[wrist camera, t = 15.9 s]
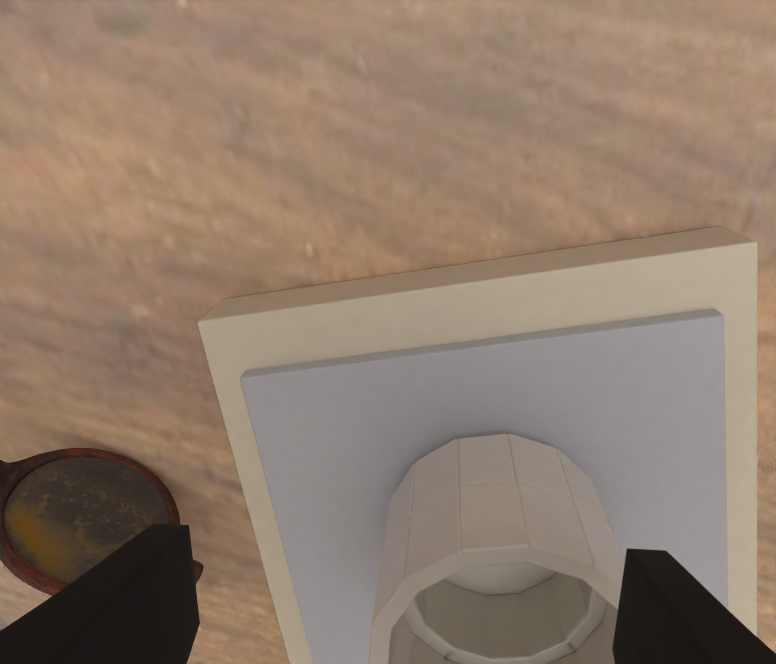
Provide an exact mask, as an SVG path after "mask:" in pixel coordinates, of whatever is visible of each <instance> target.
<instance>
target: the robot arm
mask: <svg viewBox="0 0 776 664" xmlns="http://www.w3.org/2000/svg"><path fill="white" fill-rule="evenodd" d="M199 624H200V621H199V612H198V603H197V594H196V585H195V576H194V566H193V557H192V548H191V539H190V530H189V525H176V524H157V523H154V524H152V525H151V526H149V527H148V528H146V529H145V530H143V531H142V532H140V533H139V534H138V535H136V536H135V537H133V538H132V539H131V540H129V541H128V542H126V543H125V544H124V545H122V546H121V547H120V548H118V549H117V550H116V551H114V552H113V553H111V554H110V555H109V556H107V557H106V558H105V559H103V560H102V561H101V562H99V563H98V564H96V565H95V566H94V567H92V568H91V569H90V570H88V571H87V572H85V573H84V574H83V575H81V576H80V577H79V578H77V579H76V580H74V581H73V582H72V583H70V584H69V585H67V586H66V587H65V588H63V589H62V590H60V591H59V592H58V593H56V594H55V595H54V596H52V597H51V598H49V599H48V600H46V601H45V602H43V603H42V604H40V605H39V606H37V607H36V608H34V609H33V610H31V611H30V612H28V613H27V614H25V615H24V616H22V617H21V618H19V619H18V620H16V621H15V622H13V623H12V624H10V625H9V626H7V627H6V628H4V629H3V630H1V631H0V664H186V663H187V660H188V658H189V655H190V652H191V649H192V646H193V642H194V639H195V636H196V633H197V630H198V627H199ZM612 652H613V657H614V662H615V664H776V654H775V653H774V652H773V651H772V650H771V649H770V648H768V647H767V646H766V645H765V644H764V643H763V642H762V641H761V640H760V639H759V638H758V637H756V636H755V635H754V634H753V633H752V632H751V631H750V630H749V629H748V628H747V627H746V626H745V625H743V624H742V623H741V622H740V621H739V620H738V619H737V618H736V617H735V616H734V615H733V614H732V613H731V612H730V611H729V610H728V609H727V608H726V607H724V606H723V605H722V604H721V603H720V602H719V601H718V600H717V599H716V598H715V597H714V596H713V595H712V594H711V593H710V592H709V591H708V590H707V589H706V588H705V587H704V586H703V585H702V584H701V583H700V582H699V581H698V580H697V579H696V578H695V577H694V576H692V575H691V574H690V573H689V572H688V571H687V570H686V569H685V568H684V567H683V566H682V565H681V564H680V563H679V562H678V561H677V560H676V559H675V558H674V557H673V556H672V555H670V554H669V553H668V552H667V551H666V550H648V549H629V548H627V551H626V558H625V564H624V571H623V578H622V585H621V592H620V599H619V606H618V613H617V620H616V626H615V633H614V640H613V647H612Z"/></svg>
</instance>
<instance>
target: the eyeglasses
mask: <svg viewBox="0 0 776 664" xmlns="http://www.w3.org/2000/svg"><path fill="white" fill-rule="evenodd" d="M154 523H157V524H176V525H180V518H179V513H178V509H177V506H176V503H175V501H174V499H173V497H172V495H171V493H170V492H169V490H168V489H167V487H166V486H165V485H164V484H163V482H162V481H161V480H160V479H159V478H158V477H157V476H155V475H154V474H153V473H152V472H150V471H149V470H148V469H146V468H144V467H143V466H141V465H139V464H137V463H136V462H134V461H132V460H129V459H127V458H125V457H123V456H120V455H117V454H114V453H111V452H108V451H103V450H98V449H90V448H70V449H61V450H56V451H51V452H47V453H42V454H39V455H36V456H33V457H30V458H27V459H24V460H21V461H17V462H13V463H6V462H4V461H2V460H0V560H1V561H2V562H3V564H4V565H5V566H6V567H7V568H8V569H9V570H10V571H11V572H12V573H13V574H14V575H15V576H17V577H18V578H19V579H21V580H22V581H23V582H25V583H27V584H28V585H30V586H32V587H34V588H36V589H38V590H40V591H42V592H44V593H47V594H49V595H52V596H54V595H55V594H56V593H58V592H59V591H60V590H62V589H63V588H65V587H66V586H67V585H69V584H70V583H72V582H73V581H74V580H76V579H77V578H79V577H80V576H81V575H83V574H84V573H85V572H87V571H88V570H90V569H91V568H92V567H94V566H95V565H96V564H98V563H99V562H101V561H102V560H103V559H105V558H106V557H107V556H109V555H110V554H111V553H113V552H114V551H116V550H117V549H118V548H120V547H121V546H122V545H124V544H125V543H126V542H128V541H129V540H131V539H132V538H133V537H135V536H136V535H138V534H139V533H140V532H142V531H143V530H145V529H146V528H148V527H149V526H151V525H152V524H154ZM193 566H194V576H195V585H196V583H197V581H198V580H199V578H200V576H201V574H202V572H203V565H202V564H201V563H200V562H197V561H195V560H193Z"/></svg>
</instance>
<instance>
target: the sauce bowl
mask: <svg viewBox="0 0 776 664" xmlns="http://www.w3.org/2000/svg"><path fill="white" fill-rule="evenodd" d="M624 564H625V561H624V558H623V556H622V553H621V551H620V548H619V546H618V543H617V540H616V538H615V536H614V533H613V530H612V528H611V525H610V523H609V520H608V518H607V515H606V513H605V510H604V507H603V505H602V502H601V500H600V497H599V495H598V492H597V490H596V487H595V484H594V483H593V482H592V479H591V478H590V477H589V476H588V475H587V474H586V473H584V472H583V471H582V470H581V469H580V468H579V467H578V466H577V465H576V464H574V463H573V462H572V461H571V460H570V459H569V458H568V457H567V456H566V455H565V454H563V453H562V452H561V451H560V450H559V449H556V448H555V447H552V446H549V445H546V444H542V443H539V442H536V441H533V440H529V439H526V438H523V437H520V436H516V435H513V434H508V435H507V434H497V435H487V436H478V437H468V438H460V439H454V440H452V441H451V442H449V443H447V444H445V445H444V446H442V447H440V448H438V449H437V450H435V451H433V452H431V453H430V454H428V455H426V456H424V457H423V458H421V459H419V460H417V461H416V462H415V463H414V464H413V465H412V467H411V468H410V470H409V471H408V473H407V474H406V476H405V477H404V479H403V480H402V482H401V483H400V485H399V486H398V488H397V489H396V491H395V492H394V494H393V495H392V497H391V500H390V502H389V509H388V516H387V523H386V530H385V537H384V544H383V550H382V557H381V564H380V571H379V577H378V584H377V591H376V598H375V605H374V612H373V618H372V626H371V640H370V654H369V664H615V662H614V657H613V652H612V647H613V640H614V633H615V626H616V620H617V613H618V606H619V599H620V592H621V585H622V578H623V571H624Z"/></svg>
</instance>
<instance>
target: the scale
mask: <svg viewBox="0 0 776 664" xmlns="http://www.w3.org/2000/svg"><path fill="white" fill-rule="evenodd" d="M757 314H758V243H757V241H755V240H752V239H750V238H748V237H745V236H743V235H741V234H738V233H736V232H734V231H731V230H729V229H727V228H724V227H722V226H718V227H711V228H704V229H697V230H690V231H684V232H677V233H670V234H663V235H656V236H650V237H643V238H636V239H629V240H622V241H616V242H609V243H602V244H595V245H588V246H582V247H575V248H568V249H561V250H554V251H548V252H541V253H534V254H527V255H520V256H514V257H507V258H500V259H493V260H486V261H480V262H473V263H466V264H459V265H453V266H446V267H439V268H432V269H425V270H419V271H412V272H405V273H398V274H391V275H385V276H378V277H371V278H364V279H357V280H351V281H344V282H337V283H330V284H323V285H317V286H310V287H303V288H296V289H289V290H283V291H276V292H269V293H262V294H255V295H249V296H242V297H235V298H228V299H223V300H222V301H221V302H220V303H219V304H217V305H216V306H215V307H214V308H213V309H212V310H210V311H209V312H208V313H207V314H206V315H205V316H203V317H202V318H201V319H200V320H199V321H198V322H197V324H198V328H199V332H200V335H201V339H202V343H203V346H204V350H205V354H206V357H207V361H208V365H209V368H210V372H211V376H212V380H213V383H214V387H215V391H216V394H217V398H218V402H219V405H220V409H221V413H222V416H223V420H224V424H225V427H226V431H227V435H228V438H229V442H230V446H231V449H232V453H233V457H234V461H235V464H236V468H237V472H238V475H239V479H240V483H241V486H242V490H243V494H244V497H245V501H246V505H247V508H248V512H249V516H250V519H251V523H252V527H253V530H254V534H255V538H256V541H257V545H258V549H259V553H260V556H261V560H262V564H263V567H264V571H265V575H266V578H267V582H268V586H269V589H270V593H271V597H272V600H273V604H274V608H275V611H276V615H277V619H278V622H279V626H280V630H281V633H282V637H283V641H284V645H285V648H286V652H287V656H288V659H289V663H290V664H369V654H370V640H371V626H372V618H373V612H374V605H375V598H376V591H377V584H378V577H379V571H380V564H381V557H382V550H383V544H384V537H385V530H386V523H387V516H388V509H389V502H390V500H391V497H392V495H393V494H394V492H395V491H396V489H397V488H398V486H399V485H400V483H401V482H402V480H403V479H404V477H405V476H406V474H407V473H408V471H409V470H410V468H411V467H412V465H413V464H414V463H415V462H416V461H417V460H419V459H421V458H423V457H424V456H426V455H428V454H430V453H431V452H433V451H435V450H437V449H438V448H440V447H442V446H444V445H445V444H447V443H449V442H451V441H452V440H454V439H460V438H468V437H478V436H487V435H497V434H507V435H508V434H513V435H516V436H520V437H523V438H526V439H529V440H533V441H536V442H539V443H542V444H546V445H549V446H552V447H555V448H556V449H559V450H560V451H561V452H562V453H563V454H565V455H566V456H567V457H568V458H569V459H570V460H571V461H572V462H573V463H574V464H576V465H577V466H578V467H579V468H580V469H581V470H582V471H583V472H584V473H586V474H587V475H588V476H589V477H590V478H591V479H592V482H593V483H594V484H595V487H596V490H597V492H598V495H599V497H600V500H601V502H602V505H603V507H604V510H605V513H606V515H607V518H608V520H609V523H610V525H611V528H612V530H613V533H614V536H615V538H616V540H617V543H618V546H619V548H620V551H621V553H622V556H623V558H624V561H625V558H626V551H627V548H629V549H648V550H666V551H667V552H668V553H669V554H670V555H672V556H673V557H674V558H675V559H676V560H677V561H678V562H679V563H680V564H681V565H682V566H683V567H684V568H685V569H686V570H687V571H688V572H689V573H690V574H691V575H692V576H694V577H695V578H696V579H697V580H698V581H699V582H700V583H701V584H702V585H703V586H704V587H705V588H706V589H707V590H708V591H709V592H710V593H711V594H712V595H713V596H714V597H715V598H716V599H717V600H718V601H719V602H720V603H721V604H722V605H723V606H724V607H726V608H727V609H728V610H729V611H730V612H731V613H732V614H733V615H734V616H735V617H736V618H737V619H738V620H739V621H740V622H741V623H742V624H743V625H745V626H746V627H747V628H748V629H749V630H750V631H751V632H752V633H753V634H754V635H755V636H756V637H757Z"/></svg>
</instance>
